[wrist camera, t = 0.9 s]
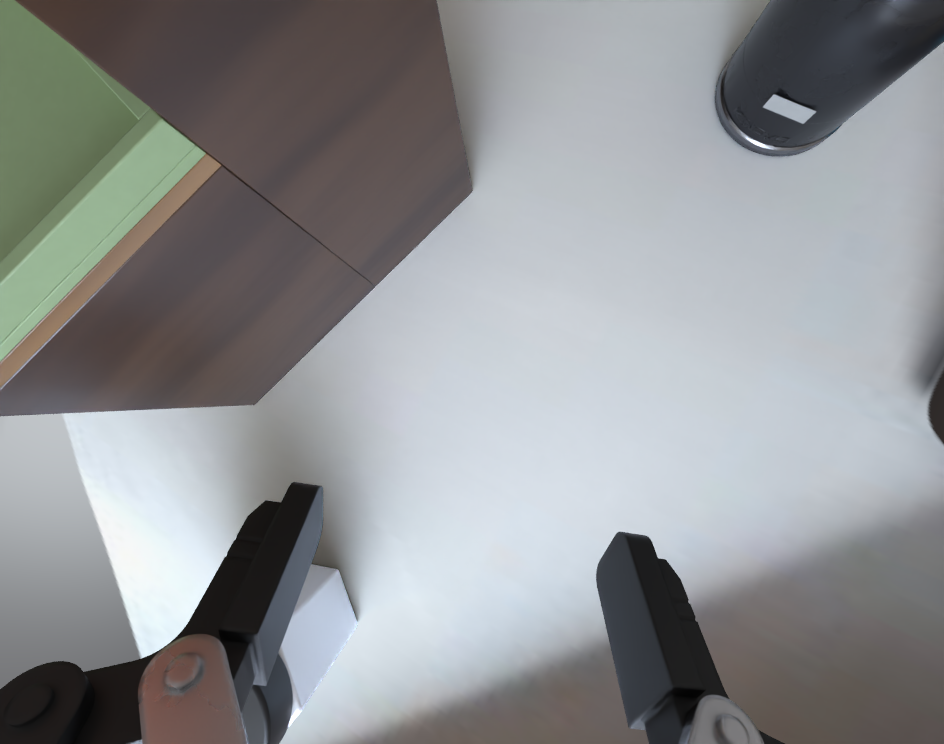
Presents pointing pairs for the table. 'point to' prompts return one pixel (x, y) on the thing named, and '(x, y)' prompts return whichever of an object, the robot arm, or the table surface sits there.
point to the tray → (69, 168)
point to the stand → (249, 194)
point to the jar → (301, 656)
